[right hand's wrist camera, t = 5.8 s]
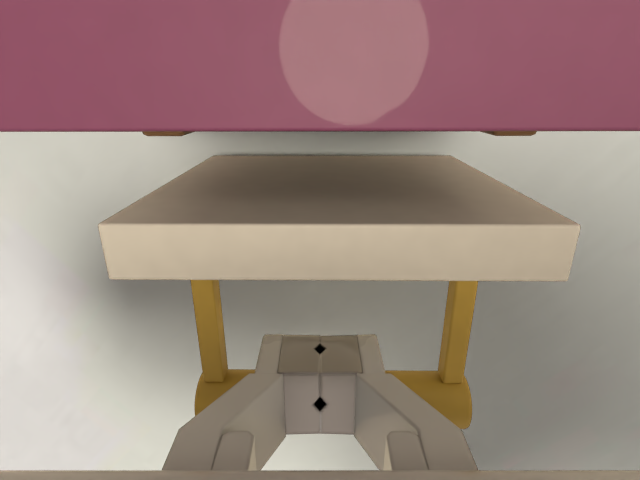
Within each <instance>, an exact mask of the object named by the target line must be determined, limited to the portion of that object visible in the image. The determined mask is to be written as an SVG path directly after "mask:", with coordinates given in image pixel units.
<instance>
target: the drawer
mask: <svg viewBox="0 0 640 480" xmlns="http://www.w3.org/2000/svg"><path fill="white" fill-rule="evenodd" d="M192 132H195V131H163V132H143V134H144V135H146V136H183V135H186V134H189V133H192ZM480 132H484V133H488V134H491V135H495V136H532V135H534V134H536V132H537V131H480ZM580 228H581V227H580V225H579V224H577V223H575V222H574V221H572V220H570V219H568V218H566V217H564V216H562V215H561V214H559V213H557V212H555V211H553V210H551V209H549V208H547V207H546V206H544V205H542V204H540V203H538V202H536V201H534V200H533V199H531V198H529V197H527V196H525V195H523V194H521V193H519V192H518V191H516V190H514V189H512V188H510V187H508V186H506V185H504V184H503V183H501V182H499V181H497V180H495V179H493V178H491V177H490V176H488V175H486V174H484V173H482V172H480V171H478V170H476V169H475V168H473V167H471V166H469V165H467V164H465V163H463V162H462V161H460V160H458V159H456V158H454V157H452V156H212V157H210V158H209V159H207V160H205V161H204V162H202V163H200V164H198V165H197V166H195V167H193V168H192V169H190V170H188V171H187V172H185V173H183V174H182V175H180V176H178V177H177V178H175V179H173V180H172V181H170V182H168V183H167V184H165V185H163V186H161V187H160V188H158V189H156V190H155V191H153V192H151V193H150V194H148V195H146V196H145V197H143V198H141V199H140V200H138V201H136V202H135V203H133V204H131V205H130V206H128V207H126V208H124V209H123V210H121V211H119V212H118V213H116V214H114V215H113V216H111V217H109V218H108V219H106V220H104V221H103V222H101V223H99V224H98V229H99V234H100V238H101V243H102V248H103V252H104V257H105V262H106V266H107V271H108V276H109V278H110V279H111V280H191V288H192V295H193V303H194V310H195V318H196V325H197V333H198V340H199V348H200V356H201V363H202V371H203V373H202V374H201V376H200V379H199V382H198V385H197V390H196V396H195V416H196V415H198V414H199V413H200V412H201V411H203V410H204V409H205V408H206V407H208V406H209V405H210V404H211V403H213V402H214V401H215V400H216V399H218V398H219V397H220V396H221V395H223V394H224V393H225V392H226V391H228V390H229V389H230V388H232V387H233V386H234V385H235V384H237V383H238V382H239V381H240V380H242V379H243V378H244V377H245V376H247V375H248V374H249V373H255V370H244V369H228V366H227V356H226V346H225V337H224V327H223V318H222V308H221V298H220V289H219V280H349V281H449V287H448V295H447V303H446V311H445V319H444V327H443V335H442V343H441V350H440V358H439V366H438V371H385V373H391V374H392V375H393V376H395V377H396V378H397V379H398V380H400V381H401V382H402V383H403V384H405V385H406V386H407V387H408V388H410V389H411V390H412V391H413V392H415V393H416V394H417V395H418V396H420V397H421V398H422V399H423V400H425V401H426V402H427V403H428V404H430V405H431V406H432V407H433V408H435V409H436V410H437V411H438V412H440V413H441V414H442V415H443V416H445V417H446V418H447V419H448V420H450V421H451V422H452V423H453V424H455V425H456V426H457V427H458V428H460V429H466V428H468V427H469V425H470V423H471V418H472V400H471V394H470V389H469V386H468V383H467V380H466V378H465V376H464V369H465V362H466V356H467V350H468V343H469V337H470V330H471V324H472V318H473V311H474V305H475V298H476V292H477V286H478V281H567V280H568V277H569V273H570V269H571V265H572V261H573V257H574V253H575V249H576V245H577V240H578V236H579V232H580Z"/></svg>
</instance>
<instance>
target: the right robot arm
mask: <svg viewBox="0 0 640 480" xmlns="http://www.w3.org/2000/svg"><path fill="white" fill-rule="evenodd" d="M316 433H323V434H354V436H355V438H356V439H357V440H358V442H359V443H360V445H361V446H362V447H363V449H364V450H365V451H366V453H367V454H368V455H369V457H370V458H371V459H372V461H373V462H374V463H375V465H376V466H377V467H378V469H379V470H344V471H260V470H261V469H262V468H263V466H264V465H265V464H266V462H267V461H268V460H269V458H270V457H271V456H272V454H273V453H274V452H275V450H276V449H277V448H278V446H279V445H280V444H281V442H282V441H283V440H284V438H285V437H286V434H316ZM0 480H640V470H552V471H478V468H477V466H476V464H475V461H474V459H473V456H472V454H471V452H470V449H469V447H468V444H467V442H466V440H465V437H464V435H463V432H462V430H461V429H460V428H458V427H457V426H456V425H455V424H453V423H452V422H451V421H450V420H448V419H447V418H446V417H445V416H443V415H442V414H441V413H440V412H438V411H437V410H436V409H435V408H433V407H432V406H431V405H430V404H428V403H427V402H426V401H425V400H423V399H422V398H421V397H420V396H418V395H417V394H416V393H415V392H413V391H412V390H411V389H410V388H408V387H407V386H406V385H405V384H403V383H402V382H401V381H400V380H398V379H397V378H396V377H395V376H393V375H392V374H391V373H385V369H384V365H383V361H382V357H381V352H380V348H379V344H378V340H377V336H376V335H375V334H367V335H340V336H320V335H282V334H276V335H264V337H263V339H262V344H261V348H260V352H259V356H258V361H257V365H256V369H255V373H249V374H248V375H247V376H245V377H244V378H243V379H242V380H240V381H239V382H238V383H237V384H235V385H234V386H233V387H232V388H230V389H229V390H228V391H226V392H225V393H224V394H223V395H221V396H220V397H219V398H218V399H216V400H215V401H214V402H213V403H211V404H210V405H209V406H208V407H206V408H205V409H204V410H203V411H201V412H200V413H199V414H198V415H196V416H195V417H194V418H193V419H191V420H190V421H189V422H188V423H186V424H185V425H184V426H183V427H181V428H180V429H179V430H178V433H177V435H176V437H175V440H174V442H173V445H172V447H171V449H170V452H169V454H168V456H167V459H166V461H165V464H164V466H163V468H162V471H79V470H0Z"/></svg>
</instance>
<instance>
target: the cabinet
mask: <svg viewBox="0 0 640 480" xmlns="http://www.w3.org/2000/svg"><path fill="white" fill-rule="evenodd" d="M0 131H1V132H163V131H640V0H0Z"/></svg>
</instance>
